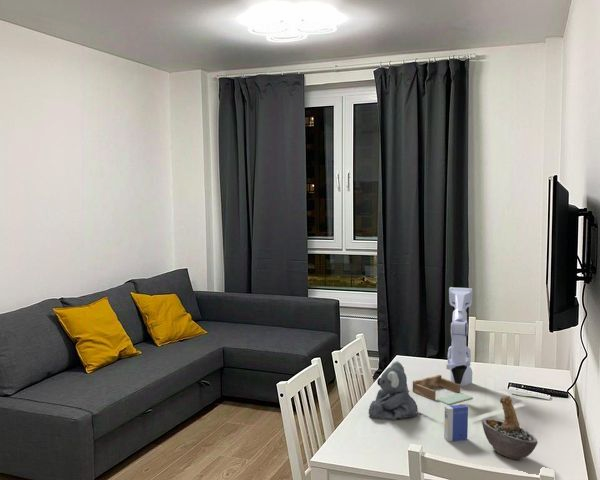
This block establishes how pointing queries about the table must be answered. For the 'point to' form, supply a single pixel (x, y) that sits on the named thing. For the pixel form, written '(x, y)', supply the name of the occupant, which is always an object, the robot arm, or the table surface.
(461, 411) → the walkman
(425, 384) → the crate
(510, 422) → the planter
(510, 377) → the table surface
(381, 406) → the koala plush
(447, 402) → the panel
